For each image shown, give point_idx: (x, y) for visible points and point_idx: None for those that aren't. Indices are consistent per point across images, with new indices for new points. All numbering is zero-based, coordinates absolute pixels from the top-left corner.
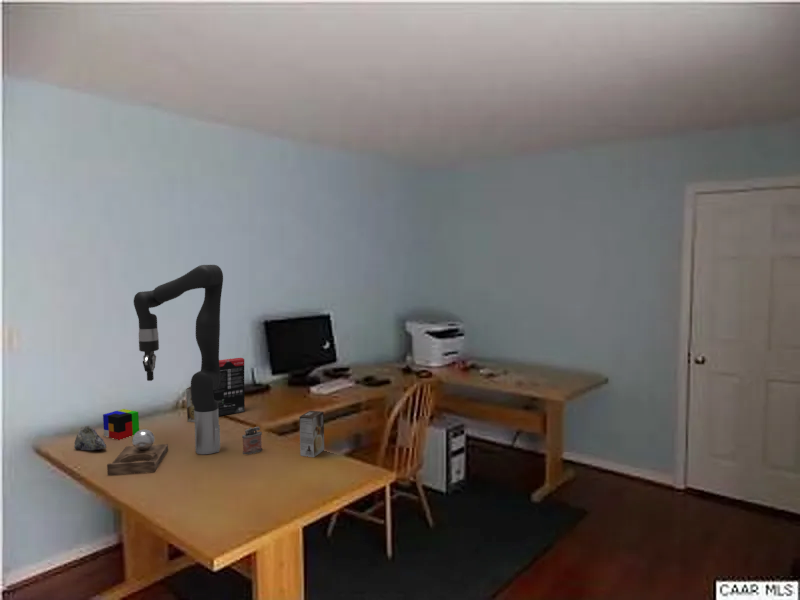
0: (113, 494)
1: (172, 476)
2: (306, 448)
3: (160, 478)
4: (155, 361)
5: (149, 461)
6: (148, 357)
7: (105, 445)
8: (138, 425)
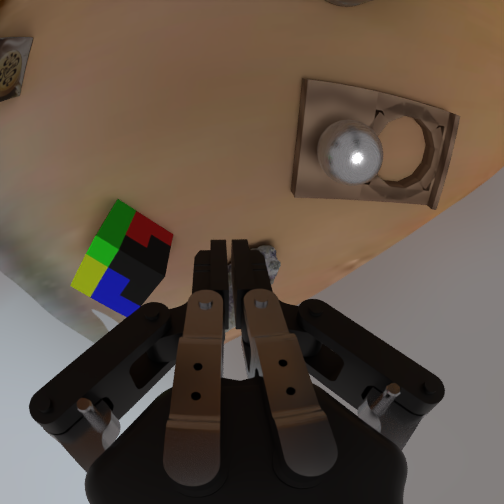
0: (492, 175)
1: (471, 79)
2: None
3: (472, 101)
4: (78, 358)
5: (456, 125)
6: (400, 451)
7: (268, 249)
8: (112, 211)
